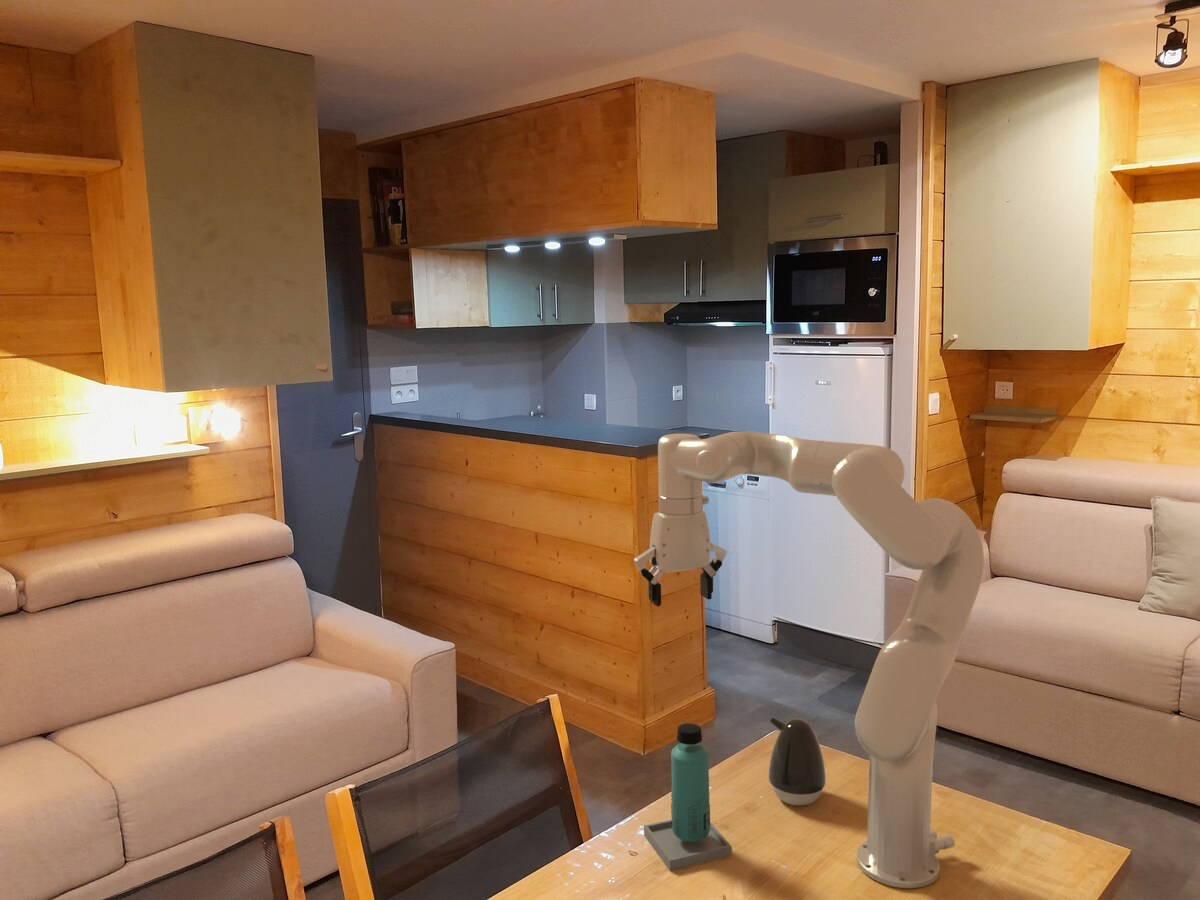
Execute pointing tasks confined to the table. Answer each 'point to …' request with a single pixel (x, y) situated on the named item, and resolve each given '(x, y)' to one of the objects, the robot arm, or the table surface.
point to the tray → (685, 846)
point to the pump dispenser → (796, 763)
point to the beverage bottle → (690, 785)
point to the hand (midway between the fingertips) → (681, 600)
